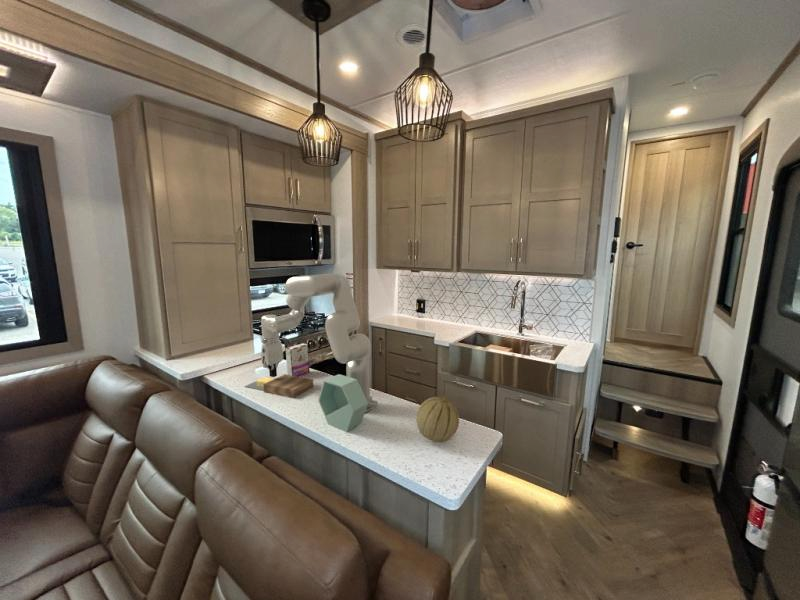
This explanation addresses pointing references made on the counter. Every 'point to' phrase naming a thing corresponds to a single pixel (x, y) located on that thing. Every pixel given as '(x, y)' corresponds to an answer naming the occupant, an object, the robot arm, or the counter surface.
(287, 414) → the counter surface
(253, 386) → the mat
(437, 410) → the cantaloupe
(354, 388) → the planter
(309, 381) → the block
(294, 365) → the candy bar box
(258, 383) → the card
